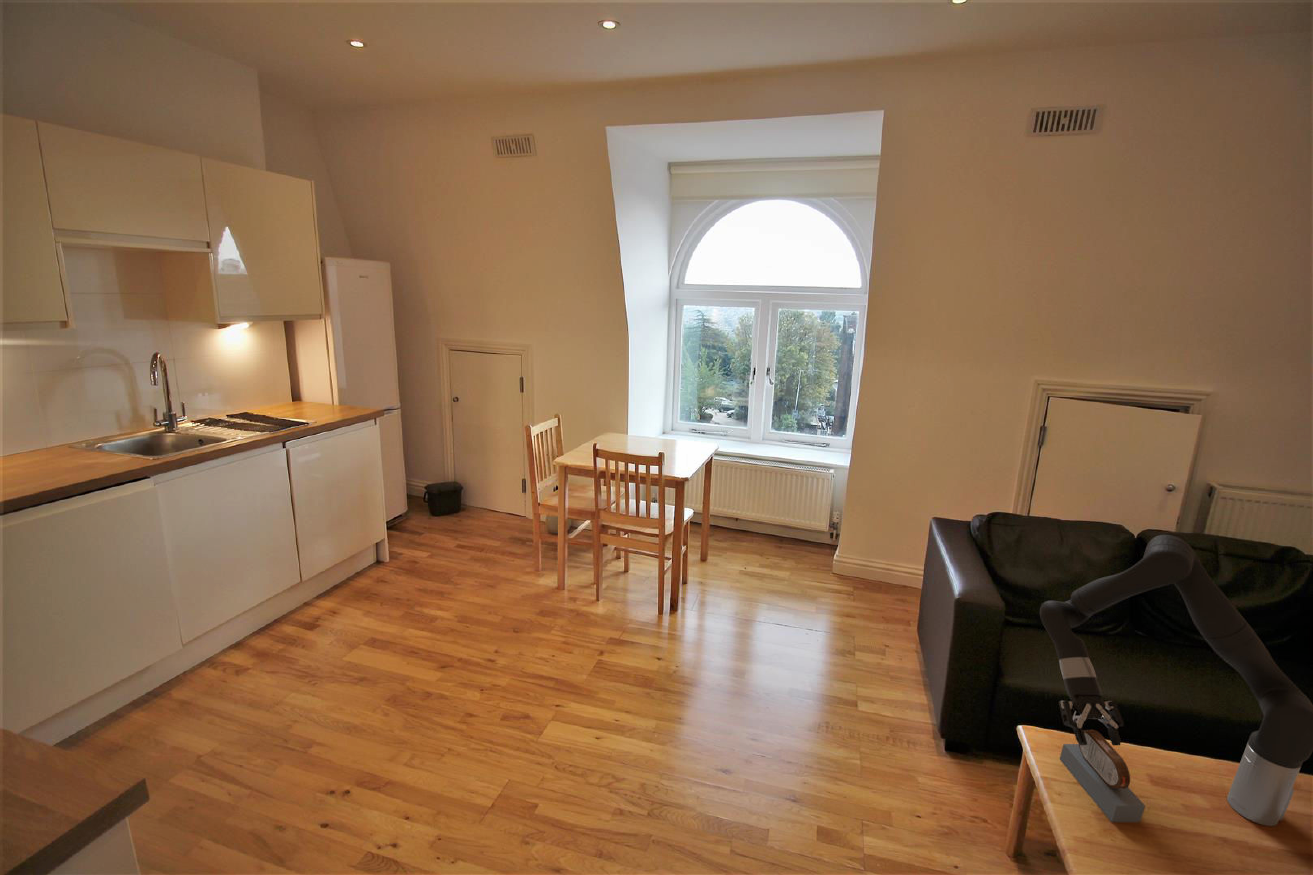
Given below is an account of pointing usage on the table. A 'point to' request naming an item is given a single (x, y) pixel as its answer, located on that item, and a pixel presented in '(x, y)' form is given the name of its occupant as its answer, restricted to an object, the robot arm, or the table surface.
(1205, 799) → the table surface
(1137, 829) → the table surface
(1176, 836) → the table surface
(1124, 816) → the base brick
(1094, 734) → the tin
